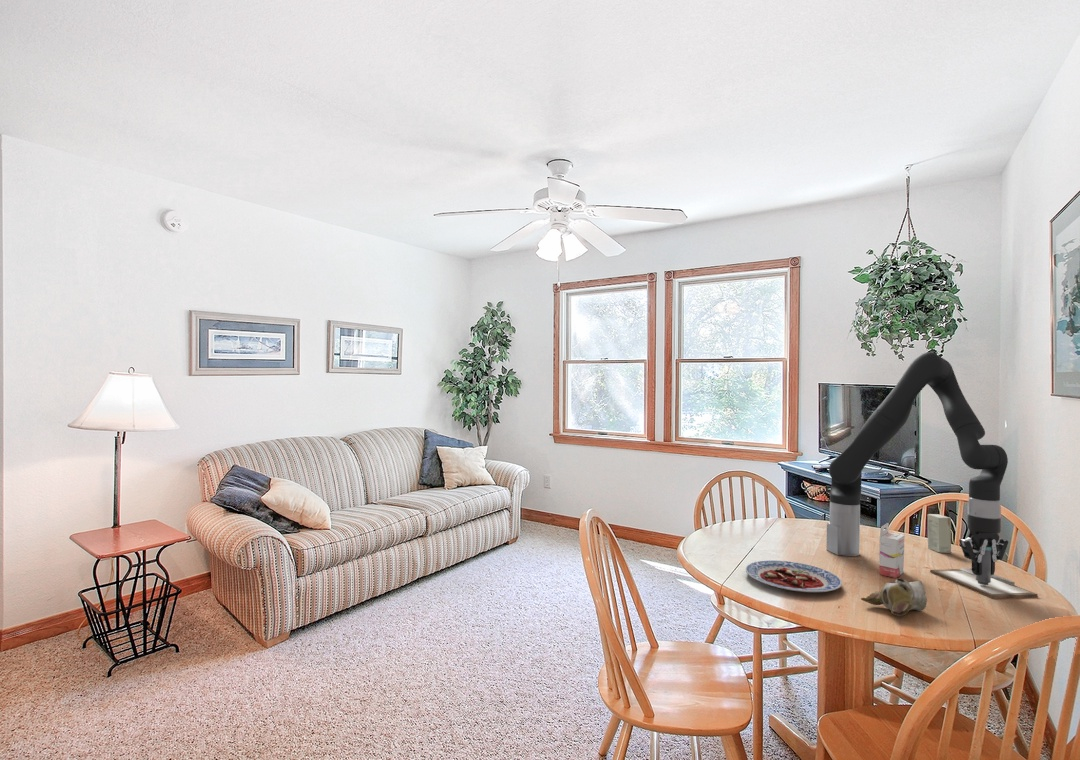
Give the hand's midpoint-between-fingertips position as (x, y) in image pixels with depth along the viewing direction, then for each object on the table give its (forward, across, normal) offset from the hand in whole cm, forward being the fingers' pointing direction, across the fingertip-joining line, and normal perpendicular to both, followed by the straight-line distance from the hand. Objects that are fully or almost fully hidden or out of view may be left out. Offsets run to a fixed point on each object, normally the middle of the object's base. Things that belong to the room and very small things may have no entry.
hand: (983, 574), depth 161 cm
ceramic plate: (+5, -52, +10) cm, 53 cm away
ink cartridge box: (+4, -17, +14) cm, 23 cm away
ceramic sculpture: (+5, -36, -12) cm, 39 cm away
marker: (+3, 0, 0) cm, 3 cm away
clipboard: (+4, +3, +4) cm, 6 cm away
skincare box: (+4, +18, +35) cm, 40 cm away
